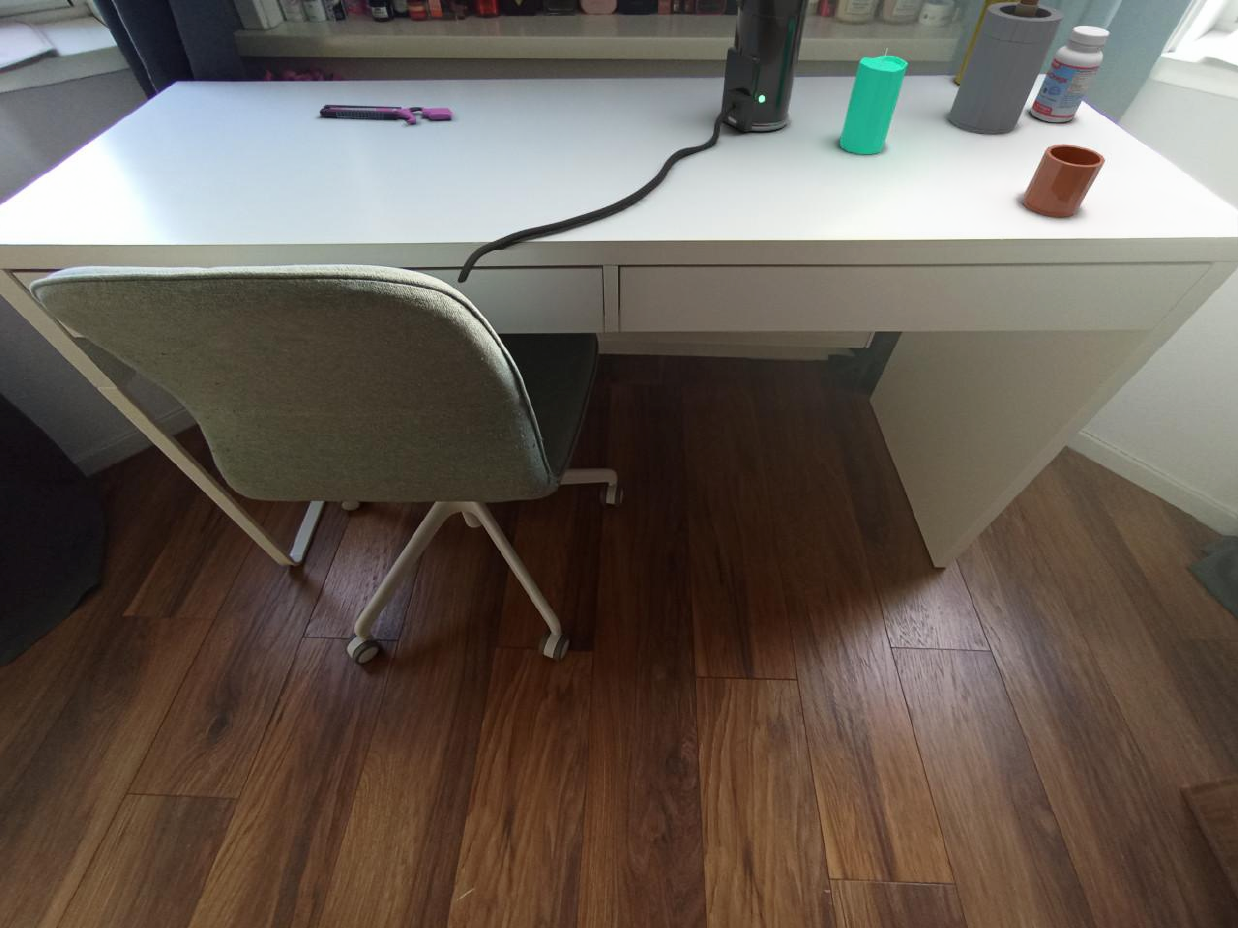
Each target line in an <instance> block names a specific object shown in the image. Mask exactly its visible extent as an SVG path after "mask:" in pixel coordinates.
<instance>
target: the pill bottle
mask: <svg viewBox="0 0 1238 928" xmlns="http://www.w3.org/2000/svg"><path fill="white" fill-rule="evenodd" d="M1109 36H1110V31H1108V30H1107V29H1104V28H1102V27H1097V26H1090V25H1079V26H1074V27H1073V29H1072V30H1071V32H1070V34H1069V36H1068V39H1067V41H1068V44H1066V45H1063V46H1062V47H1060V48H1059V49H1058V50H1057V51H1056V53H1055V55H1054V57H1053V59H1052V61H1051V64H1050V65H1049V68H1048V70H1047V73H1046V75H1045V77H1044V79H1043V81H1042V83H1041V86H1040V88H1039V90H1038V91H1037V93H1036V96H1035V99H1034V100H1033V103H1032V105H1031V108H1030V113H1031V115H1032V116H1033V117H1035V118H1037V119H1039V120H1041V121H1045V122H1048V123H1065V122H1069V121H1071V120H1072V119H1073V118H1074V117H1075V116H1076V114H1077V112H1078V110H1079V107H1080V106H1081V104H1082V102H1083V100H1084V98H1085V95H1086V94H1087V92H1088V89H1089V88H1090V86H1091V83H1092V82H1093V80H1094V78H1095V76H1096V74H1097V72H1098V70H1099V68H1100V66H1101V64H1102V62H1103V59H1104V54H1103V51H1101V48H1102V47H1103V46H1105V44H1106V42H1107V40H1108V38H1109Z"/></svg>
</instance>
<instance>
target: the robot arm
mask: <svg viewBox="0 0 1238 928" xmlns="http://www.w3.org/2000/svg"><path fill="white" fill-rule="evenodd" d="M809 2H810V0H738V7H737V13H736V14H737V16H736V24H735V33H734V40H733V41H734V42H733V46H729V47H728V48H727V53H726V63H725V71H724V81H723V89H722V98H721V99H722V100H721V108H720V112H719V114H717V115H718V116H717V117H716V119H715V120H714V125H713V133H712V136H711V138H710V139H709V140H708V141H706V142H705V143H702V144H701V145H697V146H689V147H684V148H681V149H678V150H677V151H675V152H674V153H673V154H671V155H670V156H669V157H668V158H667V159H666V160H665V162H664V164H663V165H662V167H661V168H660V170H659V171H658V173H657V174H656V175H655V176H654V177H653V178H652V179H651V180H649V181H648V182H646V184H645V185H643V186H641V188H640V189H638V190H635V192H633V193H631V194H630V195H628V196H626V197H624V198H622V199H620V200H618V201H616V202H614V203H611V204H609V205H606V206H603V207H601V208H599V209H595V210H592V211H589V212H586V213H582V214H580V215H577V216H574V217H573V216H572V217H570V218H567V219H564V220H561V221H557V222H551V223H548V224H544V225H540V226H535V227H530V228H526V229H522V230H519V231H516V232H513V233H511V234H510V233H509V234H507V235H505V236H502V237H500V238H498V239H496V240H493V241H491V242H489V243H486V244H484V245H481V246H479V248H477V249H475V250H474V251H473V252H472V253H471V254H470V255H469V256H468V258H467V259H466V261H465V263H464V265H463V266H462V268H461V270H460V272H459V275H458V278H457V283H458V284H463V283H465V282H466V281H467V280H468V278H469V275H470V273H471V271H472V269H473V268H474V266H475V264H476V263H477V261H478V260H480V259H481V257H483V256H485V255H487V254H489V253H491V252H493V251H496V250H498V249H500V248H502V247H505V246H507V245H509V244H511V243H514V242H517V241H520V240H523V239H527V238H531V237H535V236H539V235H544V234H548V233H552V232H557V231H560V230H564V229H567V228H570V227H574V226H577V225H580V224H583V223H586V222H590V221H593V220H595V219H599V218H601V217H604V216H607V215H609V214H612V213H614V212H616V211H619V210H620V209H623V208H624V207H627V206H628V205H630V204H632V203H634V202H636V201H637V200H639V199H641V197H643V196H645V195H646V194H647V193H648V192H649V191H652V189H653V188H654V187H655V186H656V185H658V184H659V183H660V182H661V181H662V180H663V179H664V177H665V176H666V175H667V173H668V172H669V170H670V168H671V167H672V165H673V164H674V163H675V162H676V161H677V160H678V159H679V158H681V157H684V156H687V155H693V154H697V153H700V152H702V151H706V150H708V149H710V148H712V147H713V146H714V145H715V144H716V142H717V141H718V140H719V137H720V133H721V132H720V131H721V125H722V123H723V122H725V123H727V124H728V125H730V126H732V127H734V128H735V129H737V130H739V131H741V132H743V133H747V132H770V131H775V130H779V129H782V128H783V127H785V126H786V125H787V124H788V121H789V115H790V113H789V111H790V106H791V105H790V104H791V100H792V94H793V88H794V84H795V77H796V72H797V67H798V61H799V56H800V50H801V46H802V40H803V35H804V28H805V22H806V18H807V12H808V7H809Z"/></svg>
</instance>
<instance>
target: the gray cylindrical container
mask: <svg viewBox="0 0 1238 928" xmlns="http://www.w3.org/2000/svg"><path fill="white" fill-rule="evenodd" d="M1017 4H1018V2H1005V3H997V4H992V5H990V6H989V7H988V9H987V11H986V14H985V17H984V20H983V23H982V25H981V28H980V31H979V34H978V36H977V39H976V42H975V45H974V48H973V50H972V53H971V56H970V59H969V61H968V64H967V67H966V70H965V72H964V75H963V78H962V81H961V84H960V85H959V87H958V90H957V92H956V94H955V98H954V101H953V102H952V103H953V104H952V106H951V109H950V112H949V114H948V120H949V122H950V123H951V124H952V125H953V126H955V127H958V128H960V129H962V130H964V131H967V132H972V133H976V134H986V135H1002V134H1007V133H1009V132H1012V131H1014V129H1015V128H1016V125H1017V124H1018V122H1019V119H1020V118H1021V115H1022V113H1023V111H1024V109H1025V106H1026V104H1027V101H1028V99H1029V97H1030V95H1031V92H1032V91H1033V88H1034V86H1035V83H1036V81H1037V78H1038V76H1039V74H1040V72H1041V70H1042V66H1043V65H1044V63H1045V60H1046V58H1047V56H1048V54H1049V52H1050V49H1051V47H1052V45H1053V42H1054V40H1055V38H1056V35H1057V33H1058V31H1059V28H1060V26H1061V24H1062V21H1063V19H1064V17H1065V16H1064V13H1063V12H1062V11H1061V10H1058V9H1055V8H1054V7H1051V6H1046V5H1042V4H1039V6H1038V9H1037V11H1036V13H1035V16H1036V17H1037V18H1025V17H1018V16H1012V15H1009V14H1014V12H1015V9H1016V6H1017Z"/></svg>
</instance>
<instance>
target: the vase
mask: <svg viewBox="0 0 1238 928" xmlns="http://www.w3.org/2000/svg"><path fill="white" fill-rule="evenodd" d="M1019 1H1020V0H985V1H984V3H983V6H982V8H981V11H980V14H979V16H978V18H977V21H976V24H975V27H974V28H973V29H974V30H973V32H972V35H971V37H970V40H969V43H968V45H967V48H966V51H965V53H964V56H963V58H962V62H961V64H960V67H959V70H958V71H957V74H956V76H955V77H954V82H955V83H956V84H957V85H959V86H960V84H961V81H962V78H963V75H964V72H965V70H966V67H967V64H968V61H969V59H970V56H971V53H972V50H973V48H974V45H975V42H976V39H977V36H978V34H979V31H980V28H981V25H982V23H983V20H984V17H985V14H986V11H987V9H988V7H989V6H990V5H992V4H997V3H1005V2H1019Z"/></svg>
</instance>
